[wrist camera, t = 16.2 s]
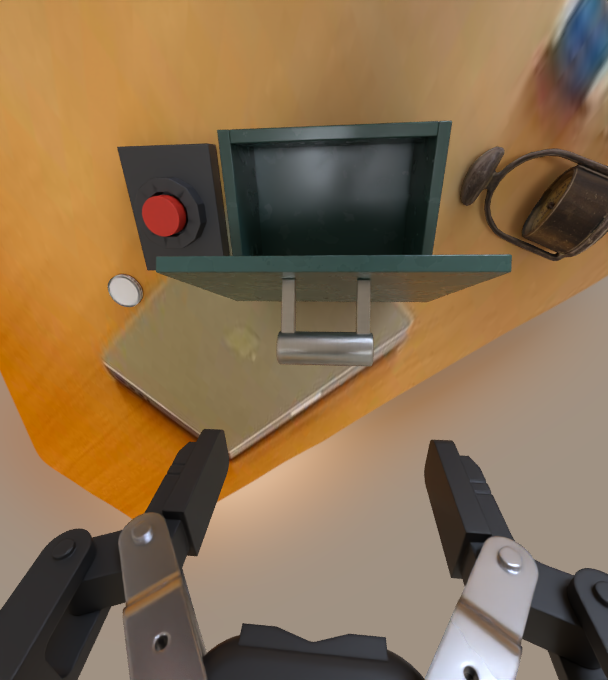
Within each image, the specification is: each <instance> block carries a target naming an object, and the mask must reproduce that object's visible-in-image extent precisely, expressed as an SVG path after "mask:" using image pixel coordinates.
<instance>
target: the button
mask: <svg viewBox="0 0 608 680" xmlns="http://www.w3.org/2000/svg"><path fill="white" fill-rule="evenodd" d="M142 216H143V220H144V222H145V224H146V226H147V227H148V228H149V229H150V230H151V231H152V232H153V233H155V234H156V235H159V236H164V237H165V236H170V235H173V234H175V233H178V232H180V231H181V230H182V229H183V228H184V226H185V224H186V212H185V209H184V207H183V205H182V204H181V203H180V202H179V201H178V200H177V199H176V198H174V197H172V196H170V195H160V196H154V197H151V198H149V199H147V200H146V202H145V203H144V205H143V208H142Z"/></svg>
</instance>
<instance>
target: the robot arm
mask: <svg viewBox="0 0 608 680" xmlns="http://www.w3.org/2000/svg"><path fill="white" fill-rule="evenodd" d="M228 466H229V456H228V450H227V445H226V439H225V434H224V431H223V430H216V429H204V430H203V431H202V432H201V434H200V436H199V438H198V440H197V442H189V443H188V444H186V445H185V446H184V447H183V448H182V449H181V450H180V451H179V452H178V454H177V456H176V457H175V459H174V461H173V463H172V465H171V466H170V468H169V470H168V472H167V475H165V477H164V479H163V481H162V483H161V485H160V486H159V488H158V490H157V492H156V494H155V495H154V497H153V499H152V501H151V503H150V504H149V506H148V508H147V510H146V511H145V513H144V514H142V515H139V516H137V517H135V518H134V519H133V520H131V521H130V522H129V523H128V524H127V525H126V526H125V527H124V529H123V530H121V531H117V532H113V533H109V534H105V535H101V536H97V537H93V538H92V537H91V535H90V533H89V532H88V531H87V530H84V529H73V530H69V531H66V532H64V533H62V534H61V535H59V536H58V537H56V538H54V539H53V540H52V541H51V542H50V543H49V544H48V545H47V546H46V547H45V548H44V550H43V551H42V552H41V553H40V555H39V556H38V558H37V559H36V561H35V562H34V563H33V565H32V566H31V568H30V569H29V571H28V572H27V573H26V575H25V576H24V578H23V579H22V580H21V582H20V583H19V585H18V586H17V587H16V589H15V590H14V592H13V593H12V595H11V596H10V597H9V599H8V600H7V602H6V603H5V605H4V606H3V607H2V609H1V610H0V680H78V677H79V675H80V673H81V671H82V669H83V667H84V664H85V662H86V660H87V658H88V656H89V653H90V651H91V649H92V647H93V645H94V643H95V641H96V638H97V636H98V634H99V632H100V630H101V627H102V625H103V623H104V621H105V619H106V617H107V615H108V612H109V610H110V608H111V606H114V605H118V604H121V603H125V602H126V607H125V608H124V609H123V624H124V632H125V641H126V650H127V658H128V667H129V675H130V680H515V679H516V675H517V671H518V667H519V663H520V659H521V655H522V646H521V640H522V639H524V640H526V641H529V642H531V643H533V644H535V645H537V646H540V647H542V648H544V649H546V650H548V652H549V655H550V658H551V660H552V663H553V665H554V668H555V671H556V673H557V676H558V679H559V680H608V574H606V573H604V572H602V571H599V570H596V569H591V568H584V569H581V570H579V571H578V572H576V574H575V575H571V574H568V573H565V572H563V571H560V570H558V569H555V568H552V567H549V566H547V565H544V564H542V563H540V562H538V561H536V560H534V559H533V558H532V556H531V555H530V553H529V552H528V551H527V550H526V549H525V548H524V547H523V546H521V545H520V544H519V543H517V542H515V540H514V539H513V537H512V535H511V533H510V531H509V529H508V527H507V525H506V522H505V520H504V518H503V516H502V514H501V512H500V510H499V507H498V505H497V503H496V501H495V499H494V497H493V495H492V494H491V491H490V488H489V486H488V484H487V483H486V480H485V478H484V476H483V474H482V471H481V469H480V467H478V465H477V464H476V463H475V462H474V461H473V460H472V459H471V458H470V457H469V456H460V455H459V453H458V451H457V448H456V446H455V444H454V442H453V441H448V440H431V441H430V444H429V449H428V454H427V459H426V464H425V470H424V476H425V484H426V488H427V492H428V495H429V499H430V503H431V506H432V510H433V514H434V517H435V521H436V524H437V528H438V531H439V535H440V539H441V543H442V546H443V550H444V554H445V557H446V561H447V565H448V568H449V571H450V575H451V578H458V579H463V582H464V585H465V588H464V590H463V593H462V595H461V597H460V599H459V601H458V603H457V605H456V607H455V610H454V612H453V614H452V616H451V619H450V621H449V623H448V626H447V628H446V630H445V633H444V635H443V637H442V639H441V642H440V644H439V646H438V649H437V651H436V653H435V656H434V658H433V660H432V663H431V665H430V667H429V670H428V672H427V675H426V677H425V679H424V678H423V677H422V675H421V674H420V673H419V672H418V671H417V670H416V669H415V668H414V667H413V666H412V665H411V664H409V663H408V662H407V661H405V660H404V659H403V658H401V657H400V656H398V655H396V654H395V653H393V652H391V651H389V650H387V645H386V638H385V637H376V636H366V635H356V634H347V635H343V636H338V637H334V638H330V639H326V640H321V641H317V642H310V641H307V640H305V639H303V638H301V637H299V636H296V635H294V634H292V633H290V632H287V631H285V630H283V629H281V628H278V627H275V626H265V625H254V624H244V623H243V624H242V629H241V634H240V635H239V636H235V637H232V638H230V639H227V640H225V641H224V642H222V643H220V644H218V645H217V646H216V647H214V648H213V649H211V650H210V651H209V652H208V653H207V652H206V649H205V645H204V642H203V639H202V635H201V632H200V629H199V626H198V622H197V619H196V615H195V612H194V608H193V605H192V601H191V598H190V594H189V591H188V587H187V584H186V580H185V576H184V573H183V569H182V567H183V564H184V561H185V559H186V556H187V555H188V556H198V553H199V550H200V547H201V544H202V542H203V539H204V536H205V533H206V530H207V528H208V525H209V522H210V519H211V517H212V514H213V511H214V508H215V505H216V503H217V500H218V497H219V494H220V491H221V489H222V486H223V483H224V480H225V477H226V475H227V471H228Z"/></svg>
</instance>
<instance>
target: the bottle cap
mask: <svg viewBox="0 0 608 680" xmlns="http://www.w3.org/2000/svg"><path fill="white" fill-rule="evenodd" d="M108 291H109V294H110V296H111V297H112V299H113V300H114V301H115V302H116V303H118V304H119V305H121V306H125V307H133V306H135V305H137V304H138V303H139V302H140V301H141V300H142V297H143V291H142V288H141V286H140V284H139V283H138V282H137V281H136V280H135V279H134V278H133V277H131V276H129V275H125V274H120V275H117V276H115V277H113V278H111V279H110V281H109V283H108Z"/></svg>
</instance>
